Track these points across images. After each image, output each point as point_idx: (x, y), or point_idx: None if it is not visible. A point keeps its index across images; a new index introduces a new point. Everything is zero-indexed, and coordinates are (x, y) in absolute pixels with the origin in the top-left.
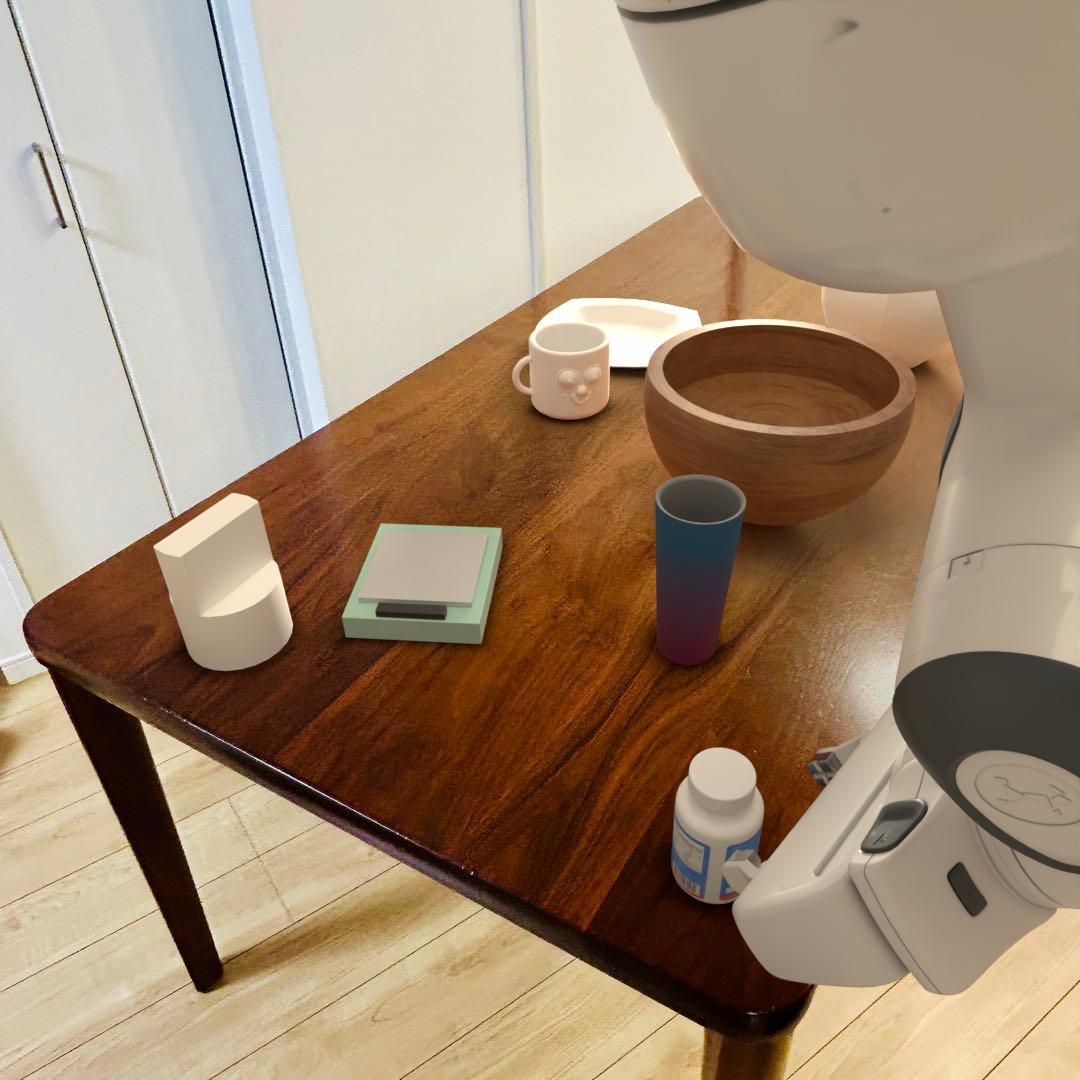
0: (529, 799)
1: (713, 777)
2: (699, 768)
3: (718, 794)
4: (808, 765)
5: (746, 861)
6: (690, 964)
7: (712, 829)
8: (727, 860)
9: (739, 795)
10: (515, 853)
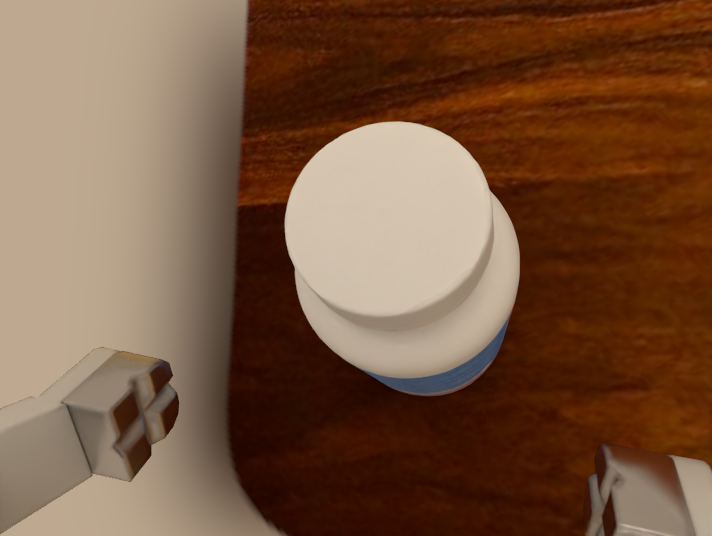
0: (385, 20)
1: (352, 198)
2: (364, 152)
3: (300, 238)
4: (603, 447)
5: (44, 409)
6: (251, 364)
7: (299, 279)
8: (120, 353)
9: (327, 291)
10: (292, 62)
